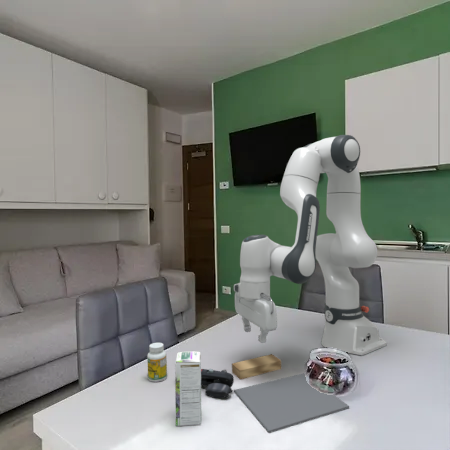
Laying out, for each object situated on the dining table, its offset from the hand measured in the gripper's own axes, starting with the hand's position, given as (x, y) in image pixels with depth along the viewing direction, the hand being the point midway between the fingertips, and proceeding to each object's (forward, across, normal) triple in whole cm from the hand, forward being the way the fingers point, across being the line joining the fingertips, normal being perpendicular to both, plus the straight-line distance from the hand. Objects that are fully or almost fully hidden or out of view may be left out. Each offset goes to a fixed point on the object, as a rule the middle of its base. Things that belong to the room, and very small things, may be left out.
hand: (254, 336), depth 98 cm
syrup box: (+11, -14, +24) cm, 30 cm away
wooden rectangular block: (+11, 0, -1) cm, 11 cm away
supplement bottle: (+11, +8, +27) cm, 30 cm away
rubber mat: (+10, -17, -1) cm, 20 cm away
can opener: (+11, -2, +17) cm, 20 cm away
